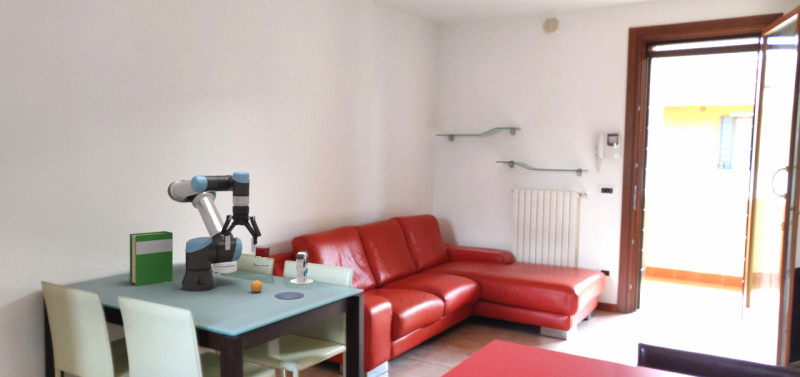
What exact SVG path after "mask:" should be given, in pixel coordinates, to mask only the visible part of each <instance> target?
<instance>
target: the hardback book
mask: <svg viewBox="0 0 800 377" xmlns="http://www.w3.org/2000/svg"><path fill="white" fill-rule="evenodd" d="M173 235H174V234H173V232H170V231H166V230H163V231H162V230H161V231H152V232H151V231H150V232H138V233H129V284H130V285H133V284H134V285H135V287H140V286H148V285H154V284H161V283H167V282H173V275H174V274H173V273H174V272H173V270H174V269H173V265H174V263H173V260H174V258H173V256H174V255H173V253H174V252H173V250H174V249H173V245H174V244H173V242H174V241H173V240H174V238H173V237H174V236H173Z"/></svg>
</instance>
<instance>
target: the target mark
mask: <svg viewBox="0 0 800 377" xmlns="http://www.w3.org/2000/svg"><path fill="white" fill-rule="evenodd" d="M274 297H275V298H276V299H279V300H297V299H301V298H304V297H305V294H304V293H302V292H298V291H297V292H296V291H285V292H277V293H275V295H274Z"/></svg>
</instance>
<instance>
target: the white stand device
mask: <svg viewBox="0 0 800 377" xmlns="http://www.w3.org/2000/svg"><path fill="white" fill-rule="evenodd" d="M308 254H309V251H308V250H300V251H298V252H297V253H296V256H295V258H296V260H295V270H296V278H293V279H291V280H290V281H289V282H290V283H291V284H295V285H308V284H312V283H313V282H314V280H313V279H311V278H308V276H307V274H308V270H309V269H308V263H309V256H308Z"/></svg>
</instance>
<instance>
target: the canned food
mask: <svg viewBox="0 0 800 377" xmlns="http://www.w3.org/2000/svg"><path fill="white" fill-rule="evenodd" d="M270 250H271V249H270V245H269V244H268V245H267V244H256V251H255V257H256V256H261V257H268V258H270Z"/></svg>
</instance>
